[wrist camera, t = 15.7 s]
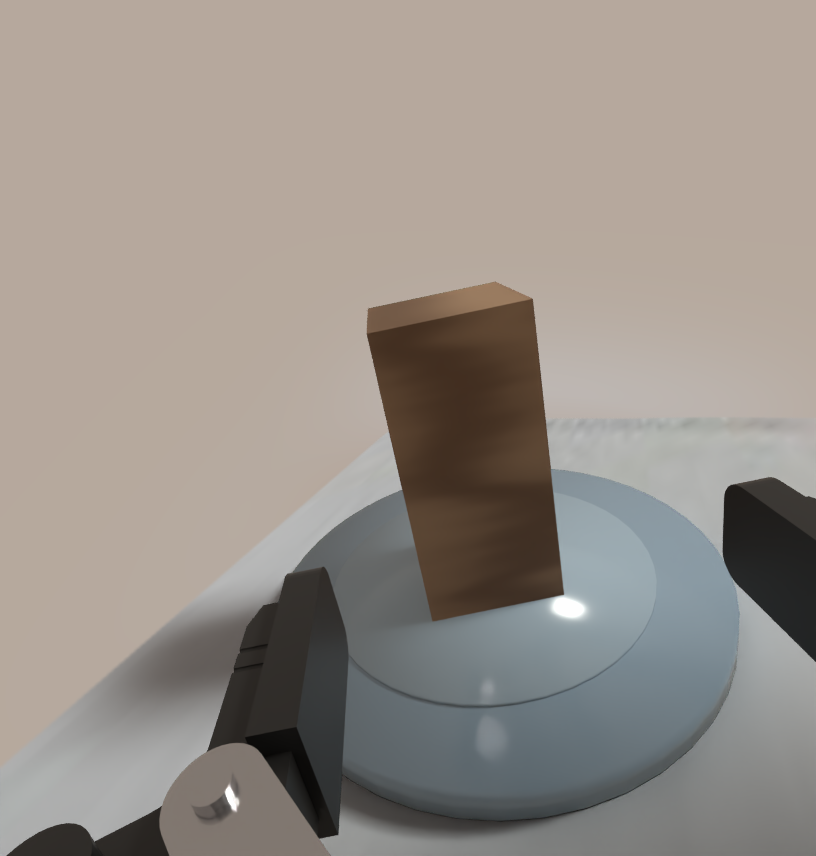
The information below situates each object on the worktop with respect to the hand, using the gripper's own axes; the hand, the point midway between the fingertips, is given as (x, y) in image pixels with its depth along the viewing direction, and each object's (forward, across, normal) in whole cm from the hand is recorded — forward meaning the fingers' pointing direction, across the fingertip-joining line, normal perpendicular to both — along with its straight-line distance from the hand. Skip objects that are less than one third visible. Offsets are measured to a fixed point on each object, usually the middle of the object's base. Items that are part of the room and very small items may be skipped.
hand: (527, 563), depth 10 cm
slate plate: (+9, 0, +8) cm, 13 cm away
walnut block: (+9, 0, +7) cm, 12 cm away
